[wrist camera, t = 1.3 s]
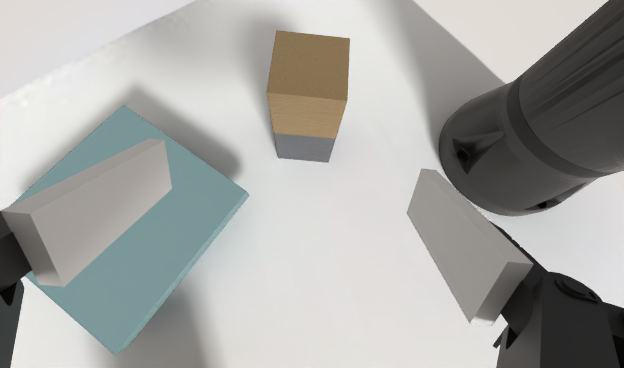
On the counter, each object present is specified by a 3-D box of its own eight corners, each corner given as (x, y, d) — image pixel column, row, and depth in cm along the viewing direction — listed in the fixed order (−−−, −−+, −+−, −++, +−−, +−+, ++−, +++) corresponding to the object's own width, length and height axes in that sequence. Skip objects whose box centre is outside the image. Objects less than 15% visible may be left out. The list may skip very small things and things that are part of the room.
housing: (331, 118, 32) (349, 38, 21) (328, 162, 30) (347, 100, 19) (283, 114, 32) (276, 30, 21) (278, 157, 30) (266, 92, 19)
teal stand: (254, 202, 28) (246, 191, 24) (147, 338, 24) (114, 354, 19) (148, 127, 30) (123, 104, 26) (30, 239, 26) (-22, 234, 22)
